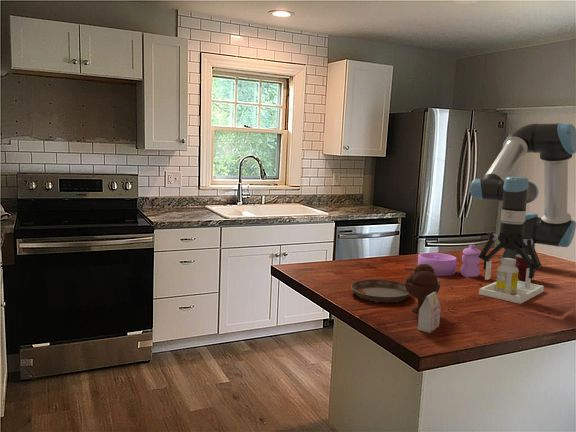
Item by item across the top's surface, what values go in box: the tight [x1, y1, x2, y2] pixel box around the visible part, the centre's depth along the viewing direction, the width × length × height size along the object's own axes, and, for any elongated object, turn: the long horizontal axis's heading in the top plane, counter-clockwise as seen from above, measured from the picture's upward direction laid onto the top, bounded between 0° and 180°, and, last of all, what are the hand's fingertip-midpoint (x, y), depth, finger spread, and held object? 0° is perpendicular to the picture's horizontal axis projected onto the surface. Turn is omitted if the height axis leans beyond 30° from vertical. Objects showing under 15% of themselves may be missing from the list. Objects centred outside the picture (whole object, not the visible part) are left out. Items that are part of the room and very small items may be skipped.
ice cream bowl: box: [404, 264, 441, 315], centre depth 155 cm, size 11×11×15 cm
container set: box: [417, 244, 482, 279], centre depth 206 cm, size 25×15×13 cm, turn 55°
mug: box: [515, 254, 537, 282], centre depth 196 cm, size 11×8×10 cm
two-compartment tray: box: [478, 280, 545, 305], centre depth 178 cm, size 22×14×3 cm, turn 135°
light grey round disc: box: [517, 283, 530, 291], centre depth 181 cm, size 8×8×2 cm
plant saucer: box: [350, 278, 411, 304], centre depth 172 cm, size 21×21×3 cm
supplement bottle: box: [495, 258, 519, 296], centre depth 173 cm, size 7×7×13 cm
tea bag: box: [417, 292, 442, 334], centre depth 142 cm, size 4×7×10 cm, turn 143°
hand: (506, 283), depth 173 cm, fingers open, 13 cm apart
